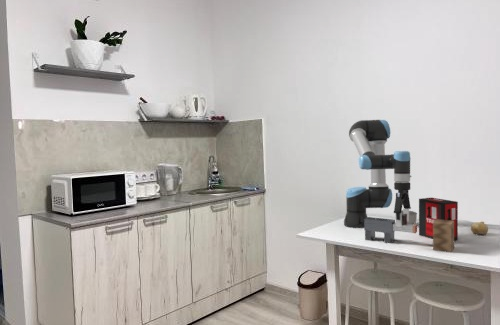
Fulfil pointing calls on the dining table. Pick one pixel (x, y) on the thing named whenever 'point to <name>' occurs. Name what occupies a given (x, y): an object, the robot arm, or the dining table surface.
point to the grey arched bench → (379, 228)
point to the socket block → (443, 235)
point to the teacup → (411, 217)
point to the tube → (405, 226)
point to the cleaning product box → (436, 215)
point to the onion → (479, 228)
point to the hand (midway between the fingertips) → (402, 223)
